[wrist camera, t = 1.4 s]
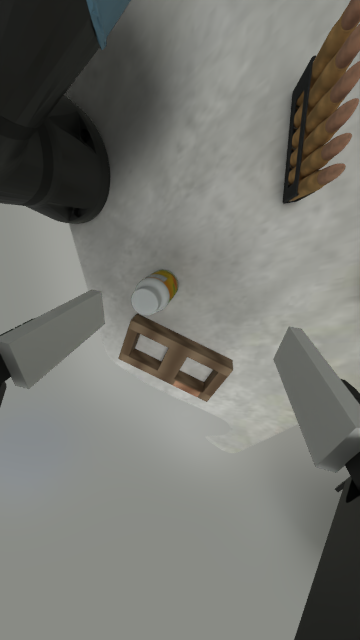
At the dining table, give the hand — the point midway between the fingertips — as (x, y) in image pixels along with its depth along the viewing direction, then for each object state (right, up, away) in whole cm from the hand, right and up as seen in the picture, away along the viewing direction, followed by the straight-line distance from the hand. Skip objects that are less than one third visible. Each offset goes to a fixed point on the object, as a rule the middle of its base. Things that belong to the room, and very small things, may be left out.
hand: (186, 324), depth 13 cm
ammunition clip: (+14, +21, +9) cm, 27 cm away
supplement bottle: (-3, +7, +20) cm, 22 cm away
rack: (-2, -8, +27) cm, 28 cm away
